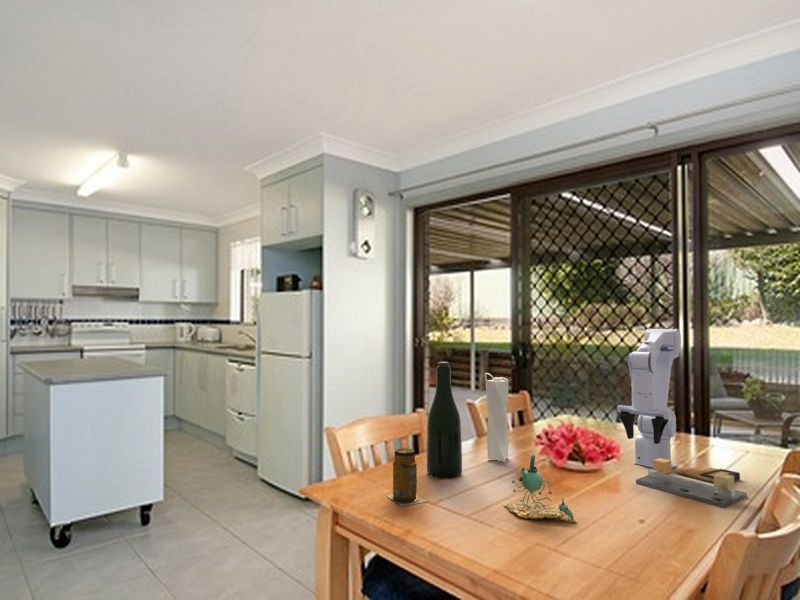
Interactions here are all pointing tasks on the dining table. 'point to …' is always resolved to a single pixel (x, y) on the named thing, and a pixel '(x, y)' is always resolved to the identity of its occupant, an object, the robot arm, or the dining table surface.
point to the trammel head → (661, 467)
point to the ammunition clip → (707, 473)
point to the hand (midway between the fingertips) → (643, 440)
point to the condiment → (405, 478)
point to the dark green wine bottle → (444, 429)
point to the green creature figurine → (533, 508)
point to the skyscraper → (497, 418)
